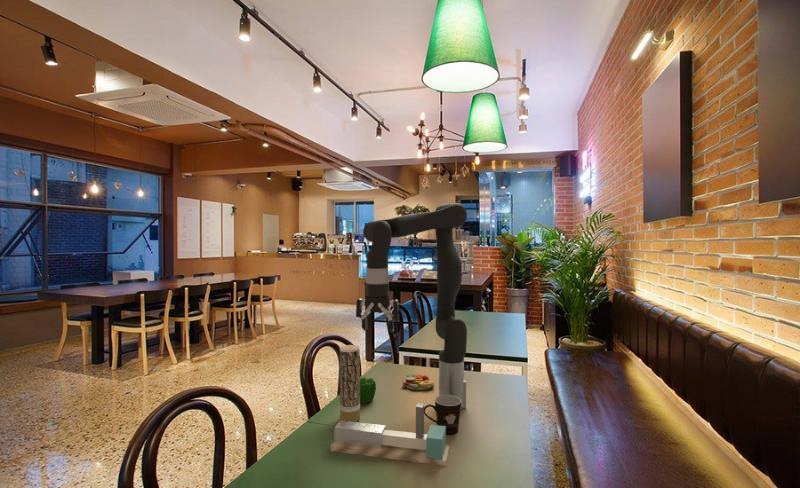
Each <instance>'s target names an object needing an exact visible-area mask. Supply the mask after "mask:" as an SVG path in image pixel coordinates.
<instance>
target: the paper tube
mask: <svg viewBox="0 0 800 488" xmlns="http://www.w3.org/2000/svg"><path fill="white" fill-rule="evenodd" d="M360 350H361V349H360V346H358V345H356V344H347V345H346V344H344V345H342V346H340V347H339V409H340V410H339V411H340V412H339V415H340V416H339V421H340V420H341V421H350V422H359V420H360V419H361V403H360V378H361V373H360V372H361V369H360V367H361V366H360V365H361V363H360V361H361V359H360V358H361V357H360V352H361V351H360Z"/></svg>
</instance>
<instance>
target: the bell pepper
mask: <svg viewBox="0 0 800 488" xmlns="http://www.w3.org/2000/svg"><path fill="white" fill-rule="evenodd" d="M376 389H377V384H376V381H375V380H374V379H373V378H371V377H370V378H366V376H364V375H363V376H361V377H360V404H368V403H369V402H372V401H373V400H374V399H375V395H376Z"/></svg>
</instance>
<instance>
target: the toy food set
mask: <svg viewBox="0 0 800 488" xmlns="http://www.w3.org/2000/svg"><path fill="white" fill-rule="evenodd" d="M402 384H403V385H404V386H405V387H406V388H408V389H410V390H412V391H413V390H414V391H425V390H429V389H431V388H432V387H434V386H435V381H433V380H432V379H430V378H429V376H428V375H421V374H414V373H407V374H406V379H405V380H404V381H403V382H402Z"/></svg>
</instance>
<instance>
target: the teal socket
mask: <svg viewBox="0 0 800 488" xmlns="http://www.w3.org/2000/svg"><path fill="white" fill-rule="evenodd" d="M446 436H447V435H446V426H438V425H437V424H429V429H428V431H427V437H426V458H431V459H439V460H443V455H444V451H445V446H446V445H447V440H446V439H447V438H446Z"/></svg>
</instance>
